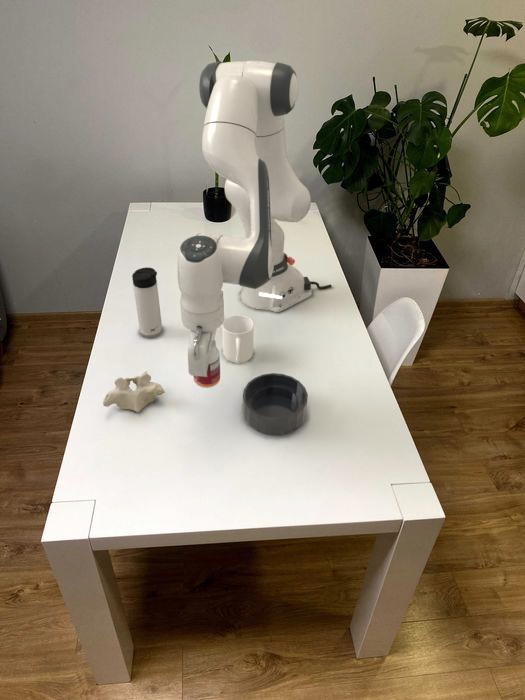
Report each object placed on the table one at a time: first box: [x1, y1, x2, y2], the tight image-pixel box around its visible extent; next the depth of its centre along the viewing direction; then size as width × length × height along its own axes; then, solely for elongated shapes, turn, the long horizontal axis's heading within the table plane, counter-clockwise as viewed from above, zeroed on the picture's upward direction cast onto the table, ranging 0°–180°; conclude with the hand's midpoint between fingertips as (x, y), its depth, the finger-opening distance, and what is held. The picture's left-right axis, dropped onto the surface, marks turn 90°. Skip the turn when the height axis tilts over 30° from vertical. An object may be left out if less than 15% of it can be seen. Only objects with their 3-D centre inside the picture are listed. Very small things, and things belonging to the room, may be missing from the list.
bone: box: [102, 370, 166, 413], centre depth 131 cm, size 9×14×8 cm, turn 125°
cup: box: [221, 314, 255, 365], centre depth 144 cm, size 8×12×10 cm
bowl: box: [242, 372, 309, 436], centre depth 130 cm, size 15×15×6 cm
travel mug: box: [131, 267, 163, 339], centre depth 149 cm, size 6×7×20 cm
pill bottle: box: [192, 339, 221, 389], centre depth 122 cm, size 6×6×11 cm
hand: (206, 362), depth 122 cm, fingers closed on pill bottle, 6 cm apart
